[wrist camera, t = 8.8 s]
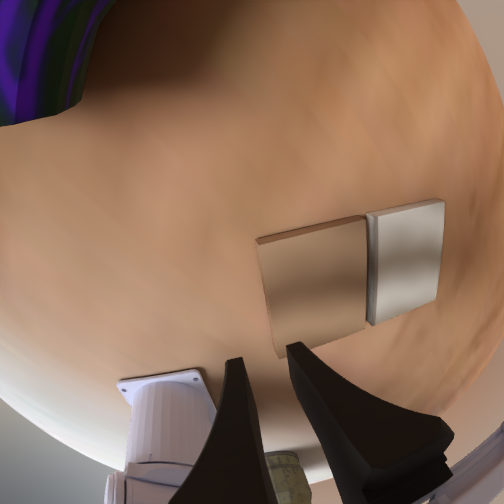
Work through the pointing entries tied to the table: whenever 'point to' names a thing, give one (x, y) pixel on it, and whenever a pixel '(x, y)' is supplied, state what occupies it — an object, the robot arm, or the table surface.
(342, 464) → the robot arm
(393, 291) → the laid board
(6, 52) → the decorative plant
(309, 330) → the plank
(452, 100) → the table surface
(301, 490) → the thermos
